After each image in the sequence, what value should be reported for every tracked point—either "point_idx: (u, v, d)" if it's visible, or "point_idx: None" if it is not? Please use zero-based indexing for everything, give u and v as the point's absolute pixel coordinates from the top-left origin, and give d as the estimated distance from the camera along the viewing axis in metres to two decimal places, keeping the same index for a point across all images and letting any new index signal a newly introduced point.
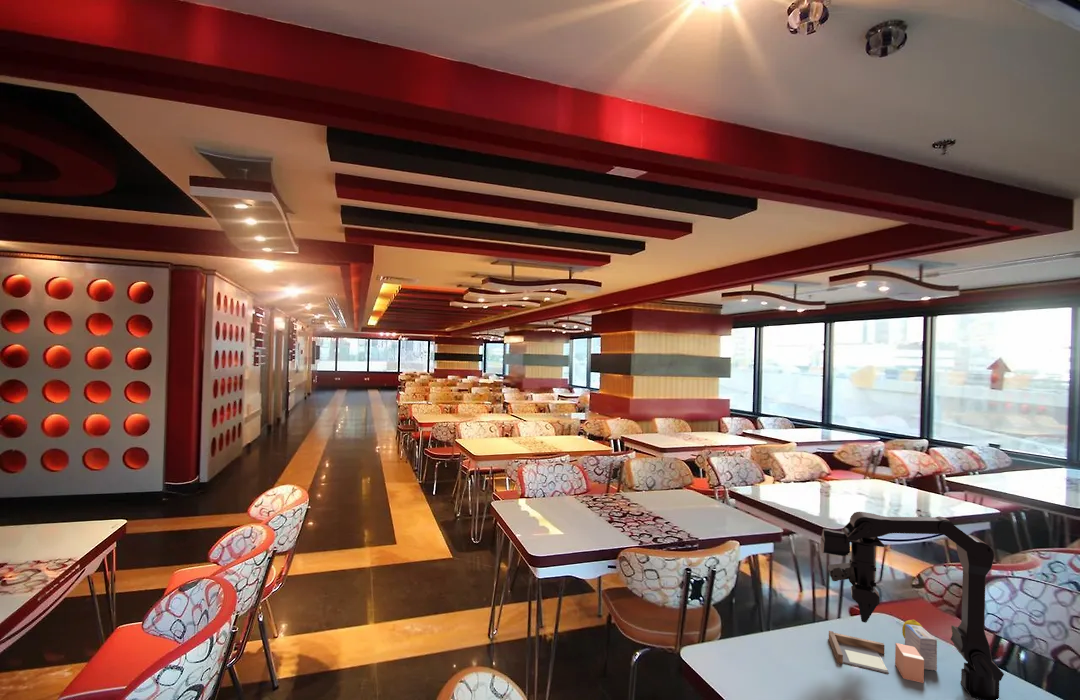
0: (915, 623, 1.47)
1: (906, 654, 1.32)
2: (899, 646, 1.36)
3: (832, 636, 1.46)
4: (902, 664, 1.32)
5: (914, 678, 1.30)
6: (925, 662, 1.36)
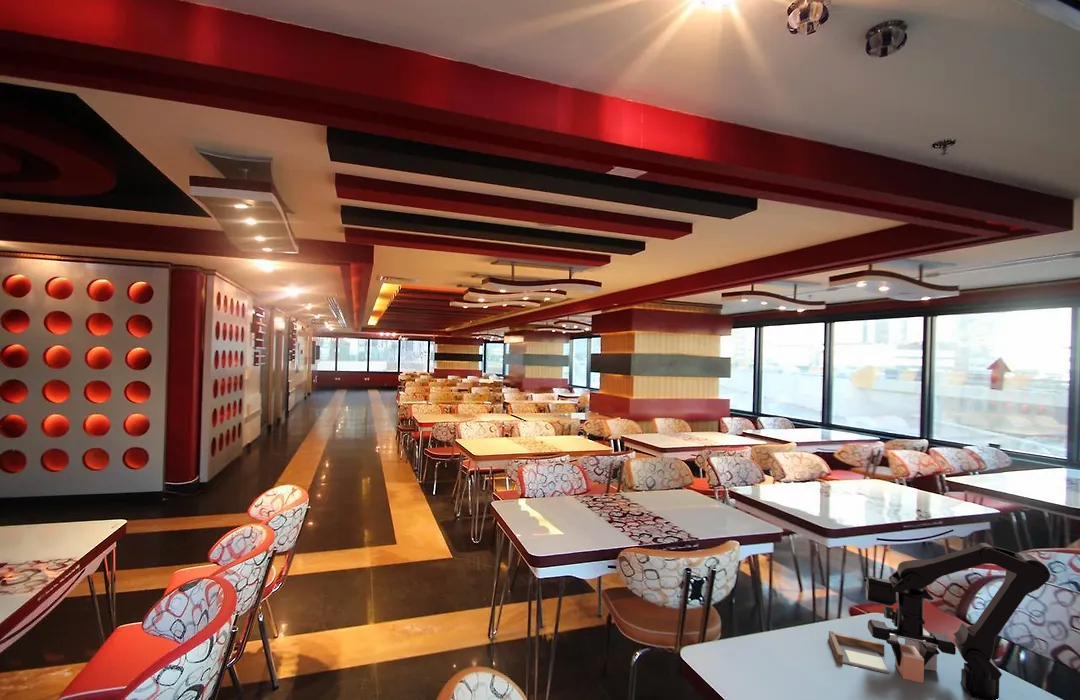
0: None
1: (906, 654, 1.32)
2: None
3: (832, 636, 1.46)
4: (902, 664, 1.32)
5: (914, 678, 1.30)
6: None
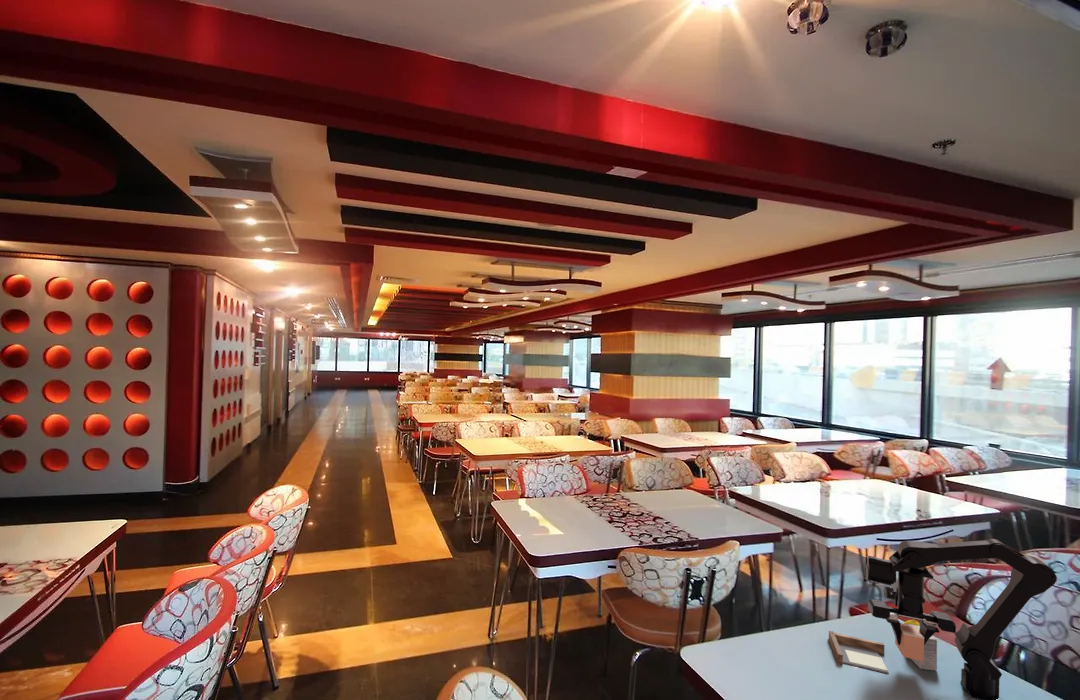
0: (915, 623, 1.47)
1: (906, 632, 1.32)
2: None
3: (832, 636, 1.46)
4: (902, 642, 1.32)
5: (914, 656, 1.31)
6: (925, 662, 1.36)
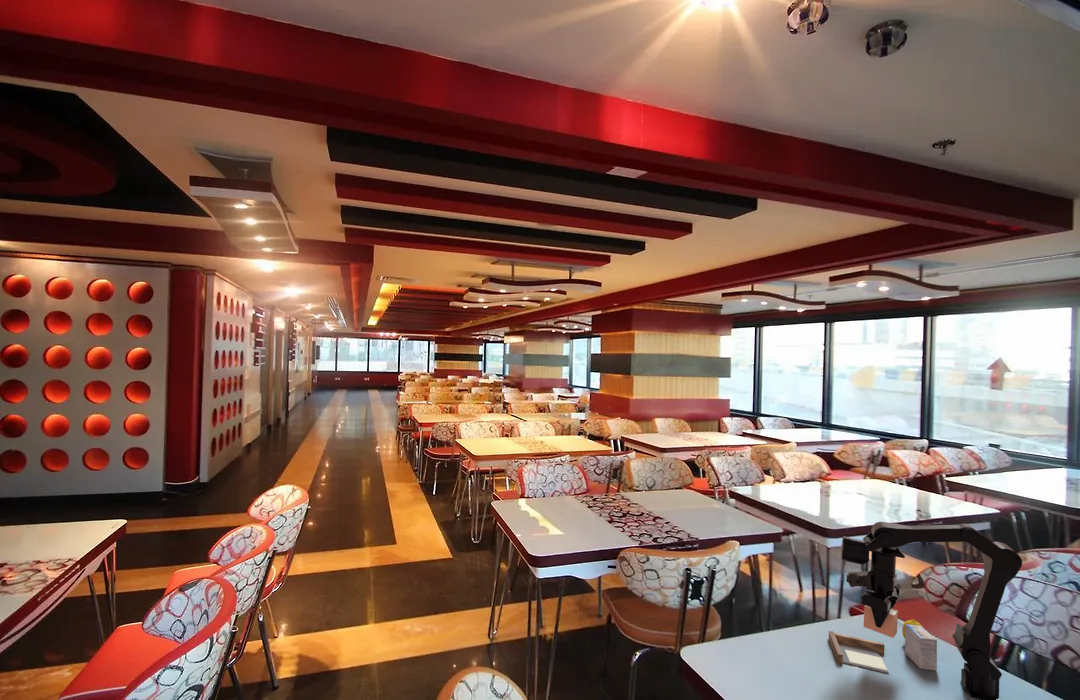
0: (915, 623, 1.47)
1: (891, 613, 1.34)
2: None
3: (832, 636, 1.46)
4: (889, 624, 1.34)
5: (895, 632, 1.35)
6: (925, 662, 1.36)
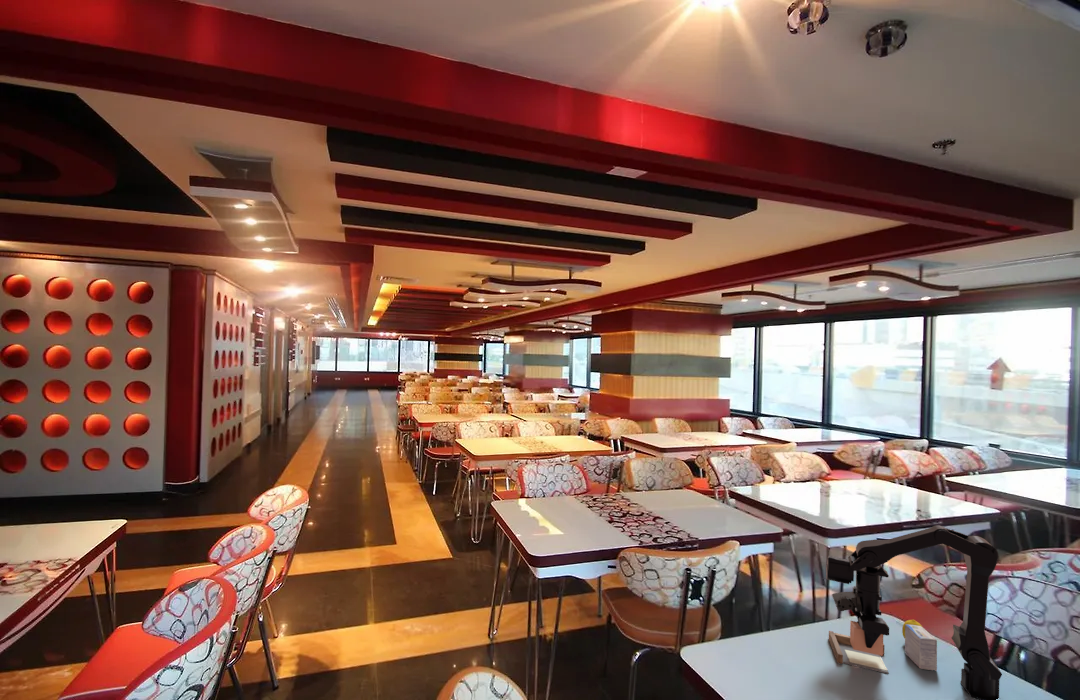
0: (915, 623, 1.47)
1: None
2: (861, 628, 1.37)
3: (832, 636, 1.46)
4: (879, 643, 1.35)
5: None
6: (925, 662, 1.36)
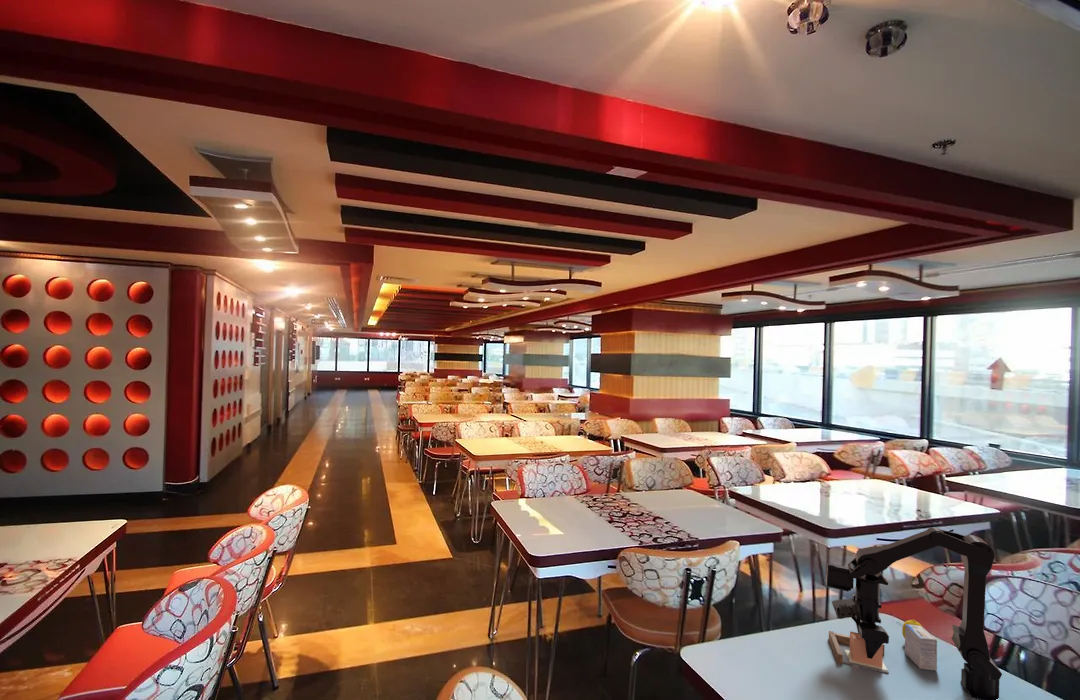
0: (915, 623, 1.47)
1: None
2: (860, 640, 1.37)
3: (832, 636, 1.46)
4: (878, 654, 1.35)
5: None
6: (925, 662, 1.36)
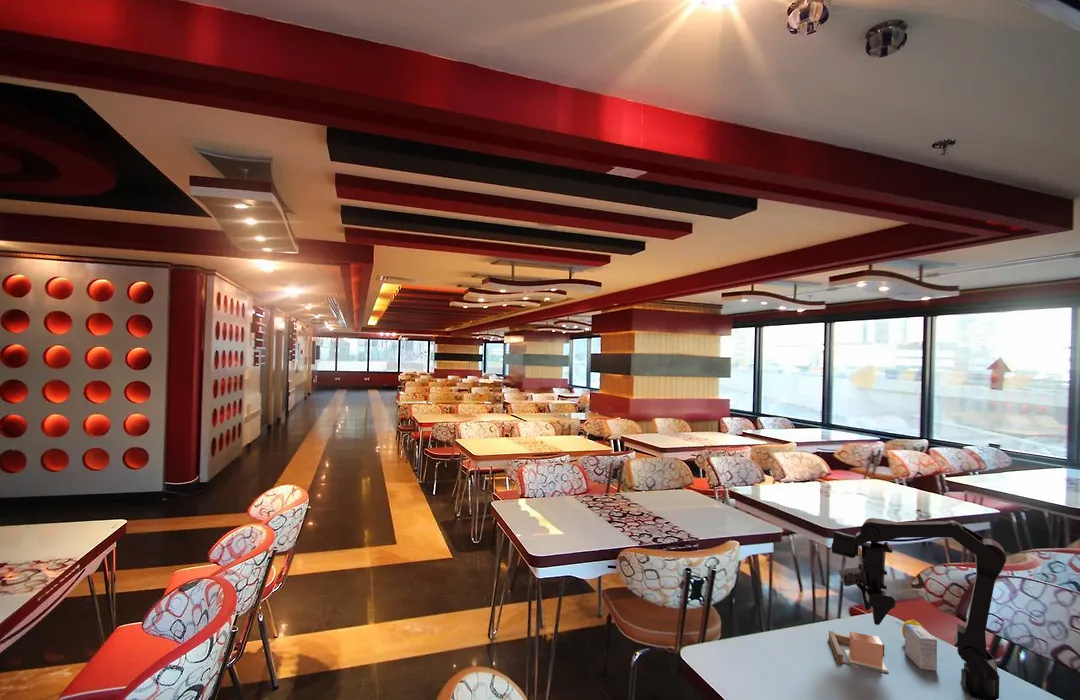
0: (915, 623, 1.47)
1: (878, 642, 1.36)
2: (860, 640, 1.37)
3: (832, 636, 1.46)
4: (878, 654, 1.35)
5: None
6: (925, 662, 1.36)
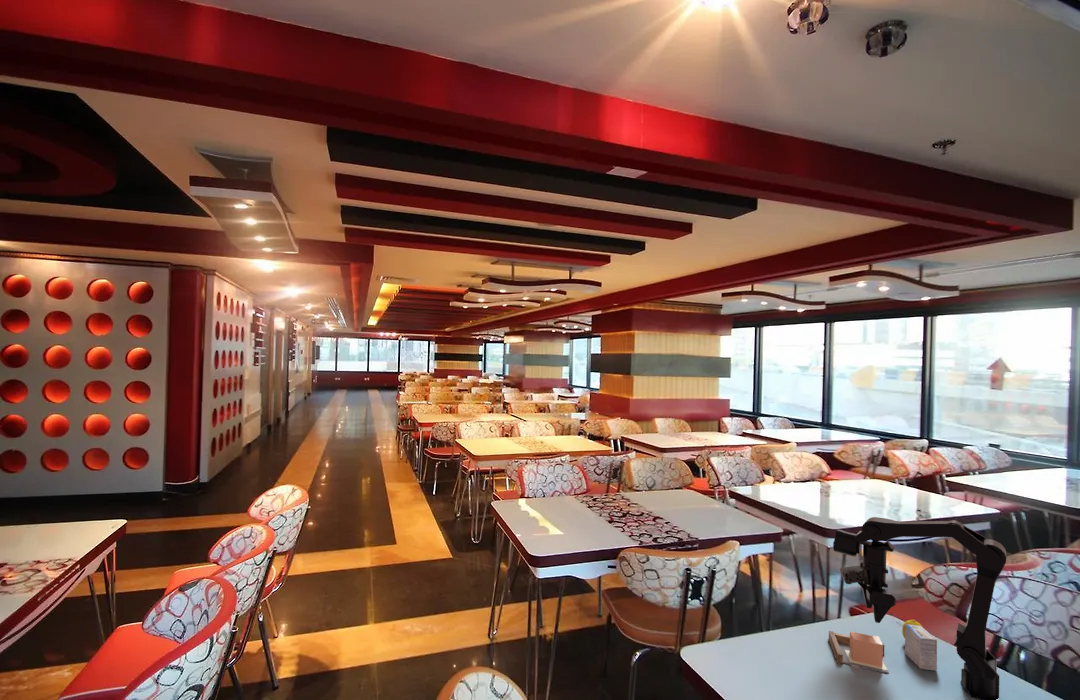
0: (915, 623, 1.47)
1: (878, 642, 1.36)
2: (860, 640, 1.37)
3: (832, 636, 1.46)
4: (878, 654, 1.35)
5: None
6: (925, 662, 1.36)
